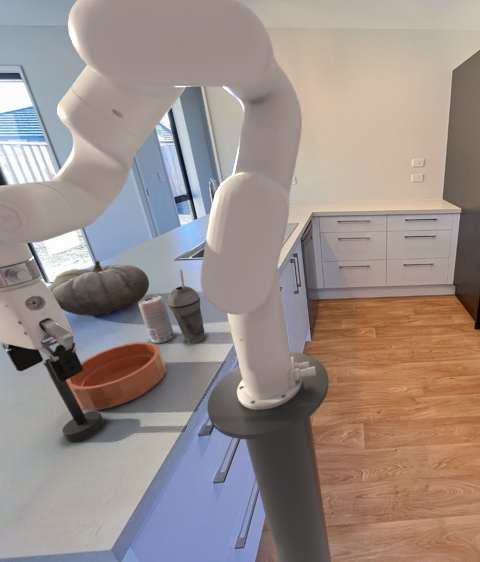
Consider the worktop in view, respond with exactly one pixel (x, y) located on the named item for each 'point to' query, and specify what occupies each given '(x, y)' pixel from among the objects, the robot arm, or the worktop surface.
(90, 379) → the bowl
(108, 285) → the gourd
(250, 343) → the robot arm
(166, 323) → the energy drink
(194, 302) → the beverage cup
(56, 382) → the grey disc stick
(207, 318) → the worktop surface
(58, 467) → the worktop surface
